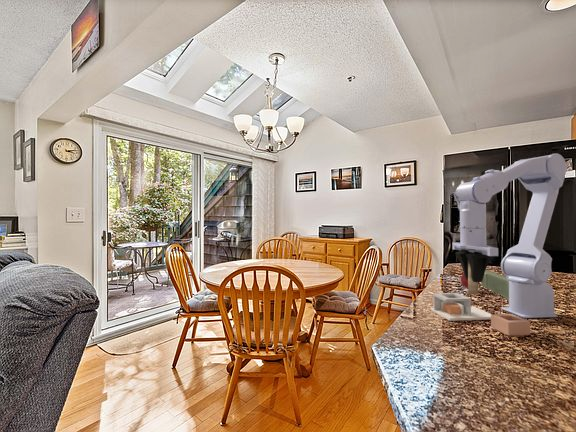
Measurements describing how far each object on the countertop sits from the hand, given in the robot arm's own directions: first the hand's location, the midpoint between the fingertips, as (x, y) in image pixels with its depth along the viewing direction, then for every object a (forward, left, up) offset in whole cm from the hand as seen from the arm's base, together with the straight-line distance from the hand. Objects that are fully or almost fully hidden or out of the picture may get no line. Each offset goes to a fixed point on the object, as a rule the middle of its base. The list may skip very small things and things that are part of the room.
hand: (473, 280), depth 76 cm
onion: (-20, -29, -11) cm, 37 cm away
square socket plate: (-1, -5, -10) cm, 12 cm away
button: (+3, -5, -10) cm, 11 cm away
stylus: (0, 0, -3) cm, 3 cm away
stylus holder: (-4, +7, -10) cm, 13 cm away
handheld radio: (-26, -22, -11) cm, 36 cm away
